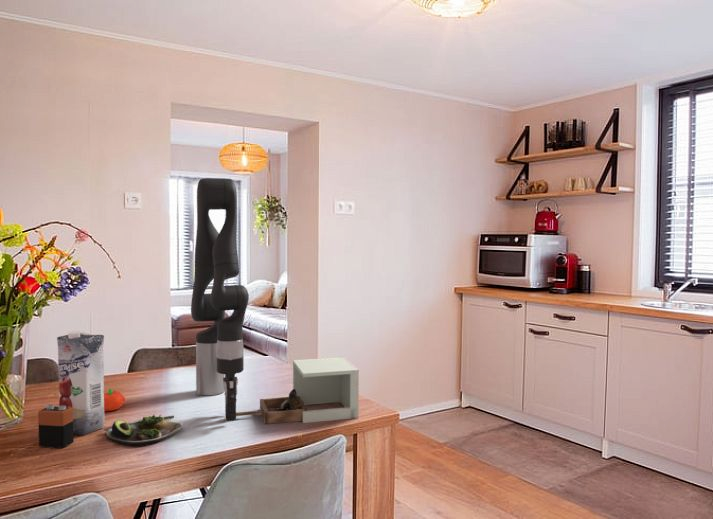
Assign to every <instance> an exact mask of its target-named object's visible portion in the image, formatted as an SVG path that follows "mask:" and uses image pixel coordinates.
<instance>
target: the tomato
mask: <svg viewBox="0 0 713 519" xmlns="http://www.w3.org/2000/svg"><path fill="white" fill-rule="evenodd" d="M125 402H126V397H125V396H124V394H122V393H121V392H120V391H118V390H117V391H116V390H115V391H114V390H112V388H108V392H104V412H113V411H117V410H119V409H120V408H121V407H123V405H124V404H125Z"/></svg>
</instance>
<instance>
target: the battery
mask: <svg viewBox="0 0 713 519" xmlns="http://www.w3.org/2000/svg"><path fill="white" fill-rule="evenodd" d="M44 407H45V408H42V409H40V410H39V411H38V412H37V414H38V418H37V421H38V446H39V448H40V447H41V448H50V447H54V448H53V449H64V448H66V447H68V446H70V445H71V444H73V443H74V434H73V408H72V407H66V406H64V405H63V406H59V405H58V406H56V405H55V404H54V403H50V404H49V403H48V404H45V405H44ZM67 445H68V446H67Z"/></svg>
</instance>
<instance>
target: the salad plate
mask: <svg viewBox="0 0 713 519" xmlns="http://www.w3.org/2000/svg"><path fill="white" fill-rule="evenodd" d="M174 418H175V415H168V416H162V414H159V415H158V416H156V415H155V414H153V415H152V416H151V415H149V416H143V417H142V418H139V419H137V420H133V421H131V422H126V421H125V420H122V419H121V420H120V419H115V420H114V421H113V423H112V426H109V427H105V428H103V431H106V434H105V436H106V439H108V440H109V441H110V442H112V443H114V444H117V445H119V446H124V447H133V448H134V447H136V448H139V447H146V446H149V445H154V444H156V443H157V444H158V443H160V442H162V441H164V440H166V439H168V438H170V437H173V435H175V434H177V433H178V432H179V431H181V429H183V425H182V423H180V422H174V421H171V420H172V419H174ZM162 431H169V433H168V434H165V435H163V436H162Z"/></svg>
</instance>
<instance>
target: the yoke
mask: <svg viewBox="0 0 713 519" xmlns="http://www.w3.org/2000/svg"><path fill="white" fill-rule="evenodd" d="M224 397H225V399H224V400H225V401H224V403H225V407H224V408H225V409H224V410H225V411H224V412H225V414H224V416H225V418H224V419H225V421H228V420H230V421H231V420H232V421H235V420H237V417H241V416H251V415H262V418H263V422H264V424H265V425H269V424H279V423H282V424H283V423H292V422H301V421H302V411H309V409H308V408H307V405H304V403H303V404H302V405H301V406H299V407H298V408H297V410H288V409H285V410H277V411H269V410H274V409H278V408H279V407H281V404H282V403H283V402H285V401H286V400H288V399H289V396H284V397H270V398H269V397H268V398H260V399H259V410H250V411H249V410H248V411H238V412H237V402H236V403H235V416H231V417H228V416H227V402H226V400H227V397H226V396H225V395H224ZM296 397H297V398H296V400H295V401H294V402H293V404H295V402H296V403H297V406H298V405H299V404H300V403H302V400H301V398H300V397H299V396H296ZM229 398H234V396H233V395H230V396H229Z"/></svg>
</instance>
